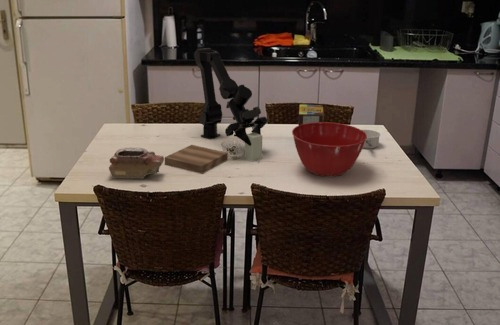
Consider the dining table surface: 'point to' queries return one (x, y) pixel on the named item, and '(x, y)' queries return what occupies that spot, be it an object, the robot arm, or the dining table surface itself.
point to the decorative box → (134, 163)
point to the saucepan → (371, 139)
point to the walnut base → (196, 158)
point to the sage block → (254, 147)
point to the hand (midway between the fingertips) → (255, 143)
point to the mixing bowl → (328, 147)
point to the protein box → (310, 114)
